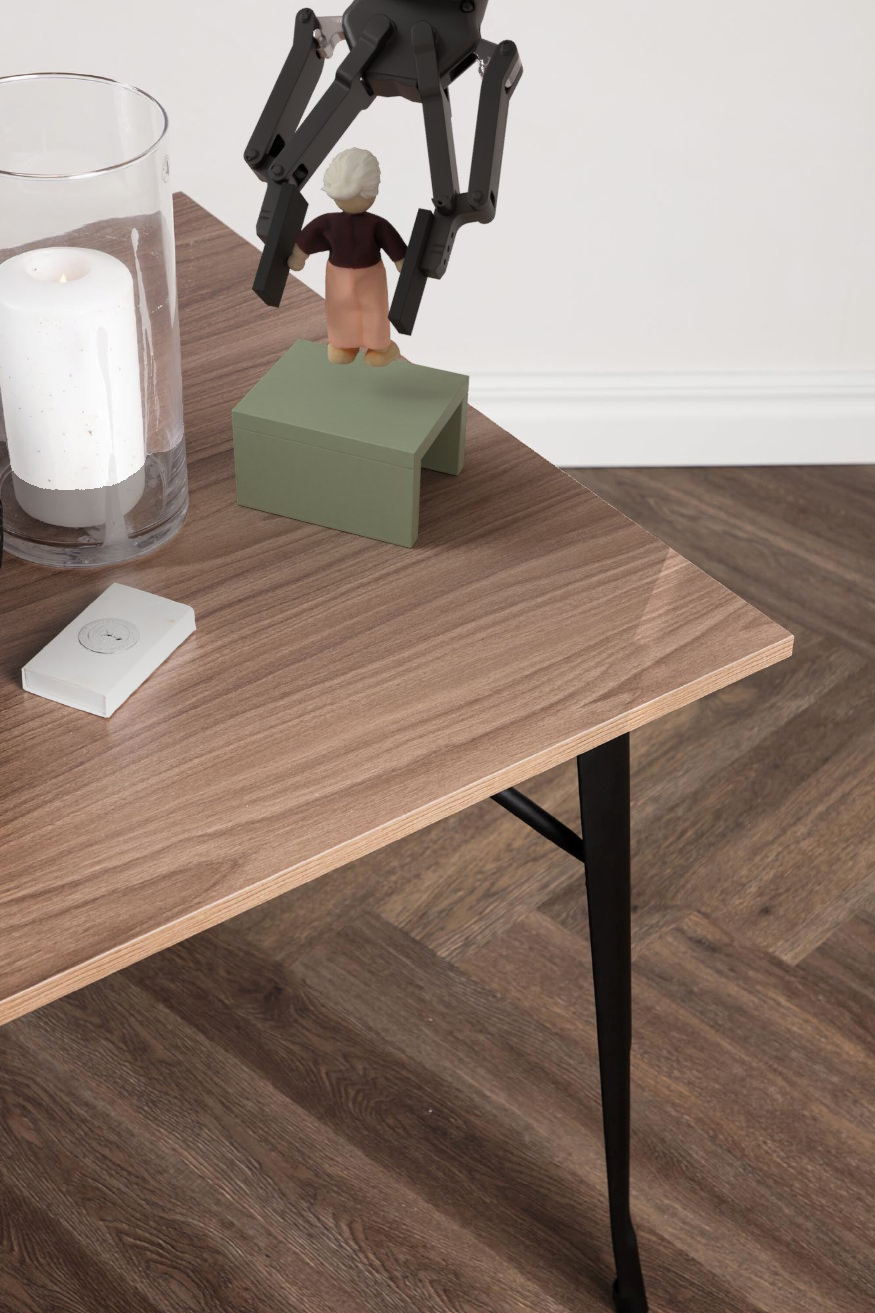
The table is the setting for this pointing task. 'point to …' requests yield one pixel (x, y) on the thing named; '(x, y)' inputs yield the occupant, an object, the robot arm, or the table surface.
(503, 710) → the table surface
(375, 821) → the table surface
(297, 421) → the shelf
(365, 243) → the grandmother figurine
